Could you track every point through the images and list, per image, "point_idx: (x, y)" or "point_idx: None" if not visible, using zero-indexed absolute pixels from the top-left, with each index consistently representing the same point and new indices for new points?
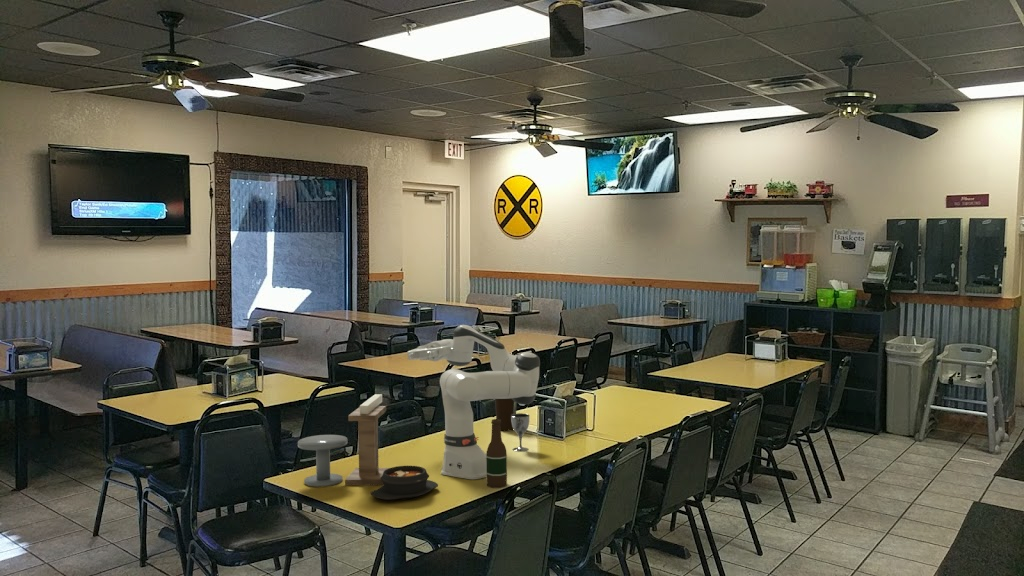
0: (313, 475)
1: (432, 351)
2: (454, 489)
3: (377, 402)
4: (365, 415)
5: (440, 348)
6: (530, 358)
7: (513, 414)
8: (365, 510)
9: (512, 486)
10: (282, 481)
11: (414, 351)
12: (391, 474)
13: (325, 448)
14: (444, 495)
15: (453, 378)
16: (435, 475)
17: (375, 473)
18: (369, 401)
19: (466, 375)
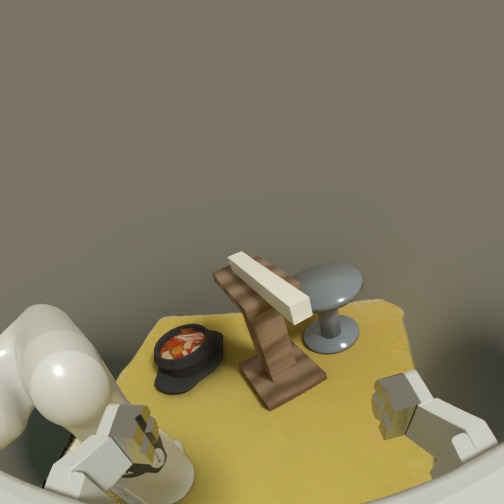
0: (356, 329)
1: (98, 437)
2: (139, 400)
3: (264, 294)
4: (228, 266)
5: (8, 474)
6: None
7: None
8: (207, 321)
9: None
10: (375, 306)
11: (484, 454)
12: (202, 341)
13: None
14: (145, 381)
15: (54, 307)
16: (189, 436)
17: (263, 368)
18: (251, 267)
19: (27, 308)
